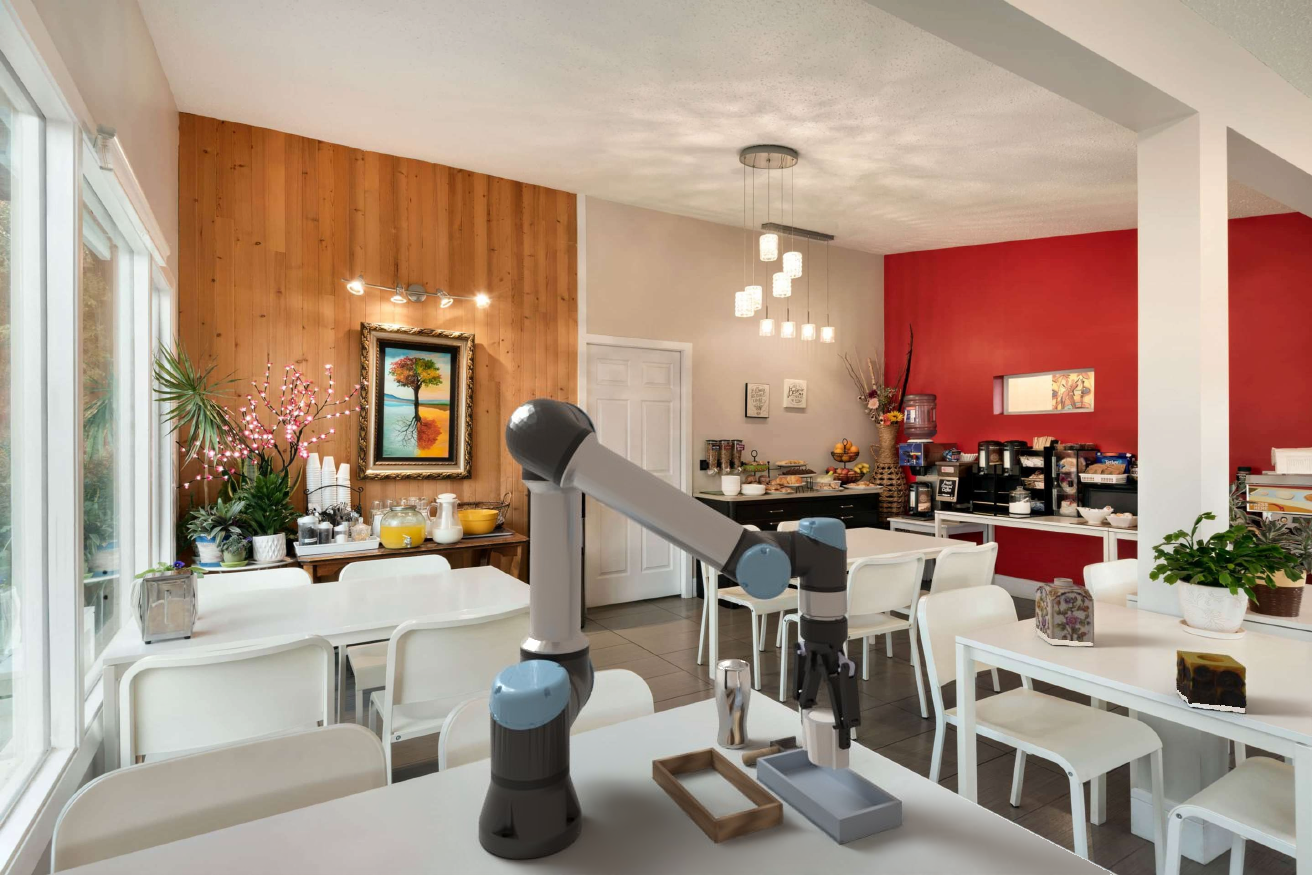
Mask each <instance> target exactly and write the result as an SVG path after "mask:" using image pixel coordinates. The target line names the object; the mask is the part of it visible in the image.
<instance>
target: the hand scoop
mask: <svg viewBox="0 0 1312 875" xmlns="http://www.w3.org/2000/svg"><path fill="white" fill-rule="evenodd" d="M800 748H803V745H802V746H798V745H797V736H796V735H793V736H787V737H784V738H783V737H782V738H779V739H774V740H770V741H769V747H766V748H761V749H755V750H752V751H748V752H743V753H742V755H741V761H742V763H743V765H744V766H750V765H755V764H757V758H761V757H765V756H770V755H774V754H778V753H783V752H787V751H791V750H796V749H800Z"/></svg>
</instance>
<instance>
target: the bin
mask: <svg viewBox="0 0 1312 875" xmlns="http://www.w3.org/2000/svg"><path fill="white" fill-rule="evenodd" d="M756 780H757V781H759V782H760V784H763V786H765V787H766V788H767V789H768V790H770V791H771V792H773V793H774V794H775V795H777V796H778V798H780V799H781V800H783V801H784V802H785V803H787V805H789V806H790V807H791V808H792V809H794V810H796V811H797V812H798V813H799V814H800V815H802V816H803V817H805V819H807V820H808V821H809V822H810V823H812V824H813V825H814V826H816V827H817V828H818V829H819V830H821V831H822V832H823V833H825V835H827V836H828V837H829V838H831V839H832V840H833V841H834V842H836V843H837V844H839V845H842V844H846V843H849V842H852V841H854V840H858V839H861V838H864V837H865V838H866V837H868V836H871V835H874V834H878V833H880V832H884V831H887V830H890V829H893V828H894V829H895V828H897V827H900V826H902V825H903V801H902V800H901V799H899V798H897V797H895V796H894V795H893V794H891V793H889V792H888V791H886V790H885V789H884V788H881V787H880V786H878V785H877V784H875V783H874V782H872V781H870V780H868V779H867V778H866V777H864V776H862V775H861V774H859V773H858V772H856V771H854V770H853V769H851V768H850V767H846V768H842V769H839V770H834V769H833V768H832V767H823V766H818V765H816V764H814V763H812V762H811V761H810V760H809V757H808V750H807V751H805V750H803V748H800V749H796V750H791V751H787V752H783V753H778V754H774V755H770V756H765V757H761V758H757V763H756Z"/></svg>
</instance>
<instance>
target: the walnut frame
mask: <svg viewBox="0 0 1312 875" xmlns="http://www.w3.org/2000/svg"><path fill="white" fill-rule="evenodd" d="M651 761H652V763H651V765H652V768H651V770H652V772H651V773H652V776H651V777H652V778H651V779H653V780H654V781H655V782H656V784H657V785H658V786H659V787H660V788H661V789H662V790H663V791H664V792H665V793H666V794H667V795H668V796H669V797H670V798H671V799H672V800H673V801H674V803H676V804H677V806H678V807H680V809H681V810H682V811H684V813H685V814H686V815H687V816H688V817H689V818H690V819H691V820H692V821H693V822H694V823H695V824H696V826H698V827H699V829H701V830H702V831H703V832H704V834H705V835H707V837H708V838H709V839H710V840H711V842H713V843H714V844H715V843H719V842H723V841H726V840H729V839H733V838H738V837H739V836H740V837H741V836H744V835H747V834H751V833H754V832H758V831H762V830H765V829H767V828H772V827H775V826H779V825H782V824H784V804H783V802H782V801H780V800H779V799H778V798H777V797H776V796H774V795H773V794H772V793H771V792H769V791H768V790H766V789H765V788H764V787H763V786H762V785H760V784H759V783H758V782H756V781H755V780H754V779H753V778H752V777H750V776H749V775H748V774H747V773H745V772H744V771H743V770H742V769H741V768H739V767H738V766H737V765H736V764H734V763H733V762H731V761H730V760H729V759H728V758H726V757H725V756H724V755H723V754H721V753H720V752H719V751H718V750H717V749H716V748H714V747H708V748H704V749H700V750H694V751H691V752H686V753H681V754H677V755H672V756H666V757H662V758H658V759H653V760H651ZM707 768H711V769H713V770H715V771H716V772H717V773H718V774H719V775H720V776H721V777H722V778H723V779H725V780H726V781H728V782H729V783H730V785H732V786H733V787H734V788H736V790H738V791H739V792H740V793H741V794H743V795H744V796H745V797H746V798H747V799H749V801H751V802H752V803H753V804H755V806H756V807H754V808H751V809H750V808H749V809H747V810H744V811H743V810H742V811H739V812H735V813H731V814H728V815H723V816H721V817H717V818H716V816H714V814H712V813H711V812H710V811H709V810H708V809H707V808H706V807H705V806H704V805H703V804H702V803H701V802H700V801H699V800H698V799H697V798H696V797H695V796H694V795H693V794H692V793H691V792H690V791H689V790H688V789H687V788H686V787H685V786H684V785H682V783H681V782H680V781H678V780H677V779H676V778H675V777H674V776H676V775H682V774H686V773H689V772H690V773H691V772H694V771H698V770H702V769H707Z"/></svg>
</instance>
